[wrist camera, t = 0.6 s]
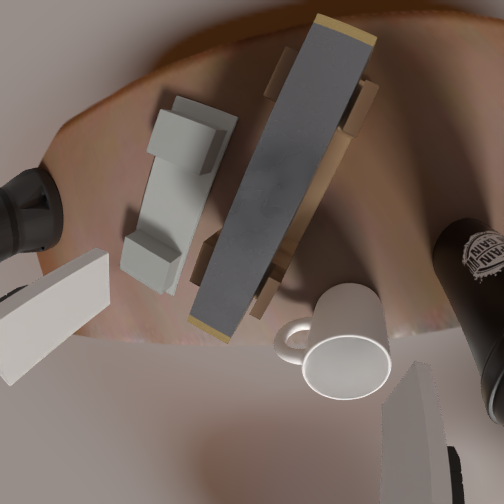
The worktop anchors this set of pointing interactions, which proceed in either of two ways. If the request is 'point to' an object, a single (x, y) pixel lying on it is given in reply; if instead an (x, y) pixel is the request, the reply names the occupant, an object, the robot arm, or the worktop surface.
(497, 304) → the water bottle
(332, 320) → the mug
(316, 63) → the rail
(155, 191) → the rest
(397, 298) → the worktop surface
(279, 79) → the rack
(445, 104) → the worktop surface
